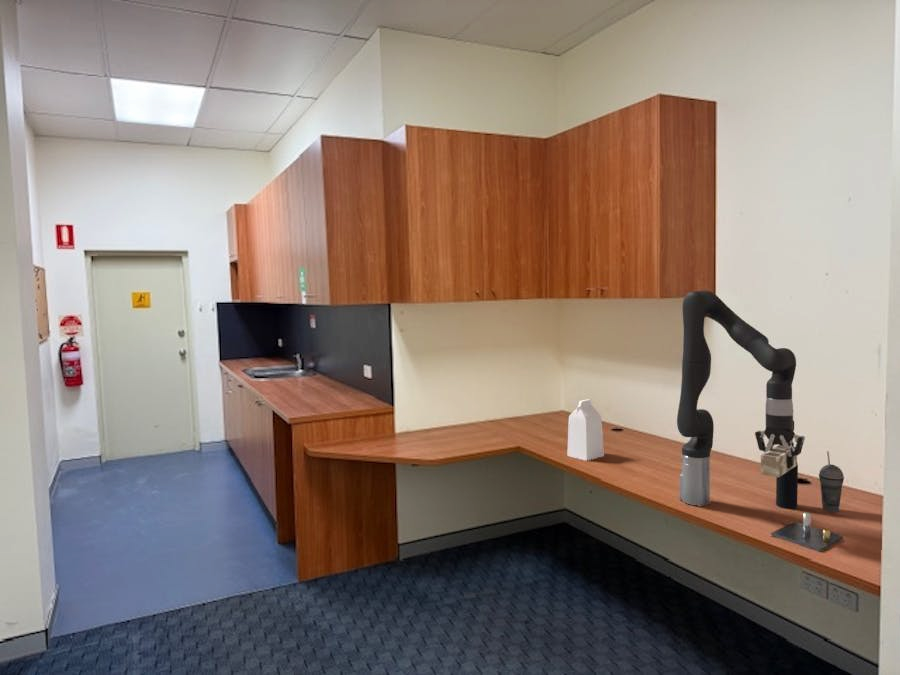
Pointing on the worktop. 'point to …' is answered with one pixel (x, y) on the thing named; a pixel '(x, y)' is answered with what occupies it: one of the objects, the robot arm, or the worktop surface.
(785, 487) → the wine bottle
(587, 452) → the milk
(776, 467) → the bar
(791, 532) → the mounting plate
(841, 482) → the grey tapered rounded cylinder
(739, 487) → the worktop surface
